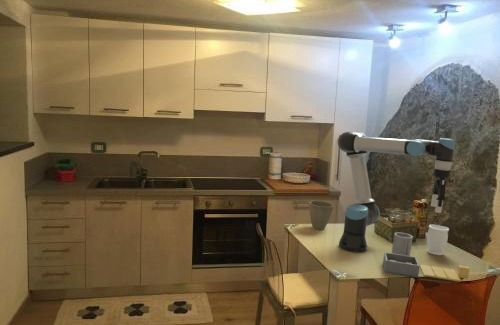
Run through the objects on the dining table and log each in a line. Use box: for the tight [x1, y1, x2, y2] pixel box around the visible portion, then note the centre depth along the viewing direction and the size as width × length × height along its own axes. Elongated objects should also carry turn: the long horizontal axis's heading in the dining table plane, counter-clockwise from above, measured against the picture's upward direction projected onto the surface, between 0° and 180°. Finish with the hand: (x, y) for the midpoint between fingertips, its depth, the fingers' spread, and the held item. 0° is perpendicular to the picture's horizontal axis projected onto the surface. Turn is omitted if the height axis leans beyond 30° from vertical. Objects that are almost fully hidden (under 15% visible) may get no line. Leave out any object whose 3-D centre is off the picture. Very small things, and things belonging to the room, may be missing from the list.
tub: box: [382, 252, 421, 279], centre depth 202 cm, size 15×12×6 cm
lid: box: [419, 264, 470, 283], centre depth 202 cm, size 21×13×5 cm, turn 76°
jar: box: [426, 224, 450, 256], centre depth 232 cm, size 11×10×15 cm
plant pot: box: [308, 200, 334, 231], centre depth 261 cm, size 15×15×16 cm
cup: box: [391, 232, 414, 256], centre depth 221 cm, size 9×9×12 cm
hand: (435, 209), depth 215 cm, fingers open, 13 cm apart
